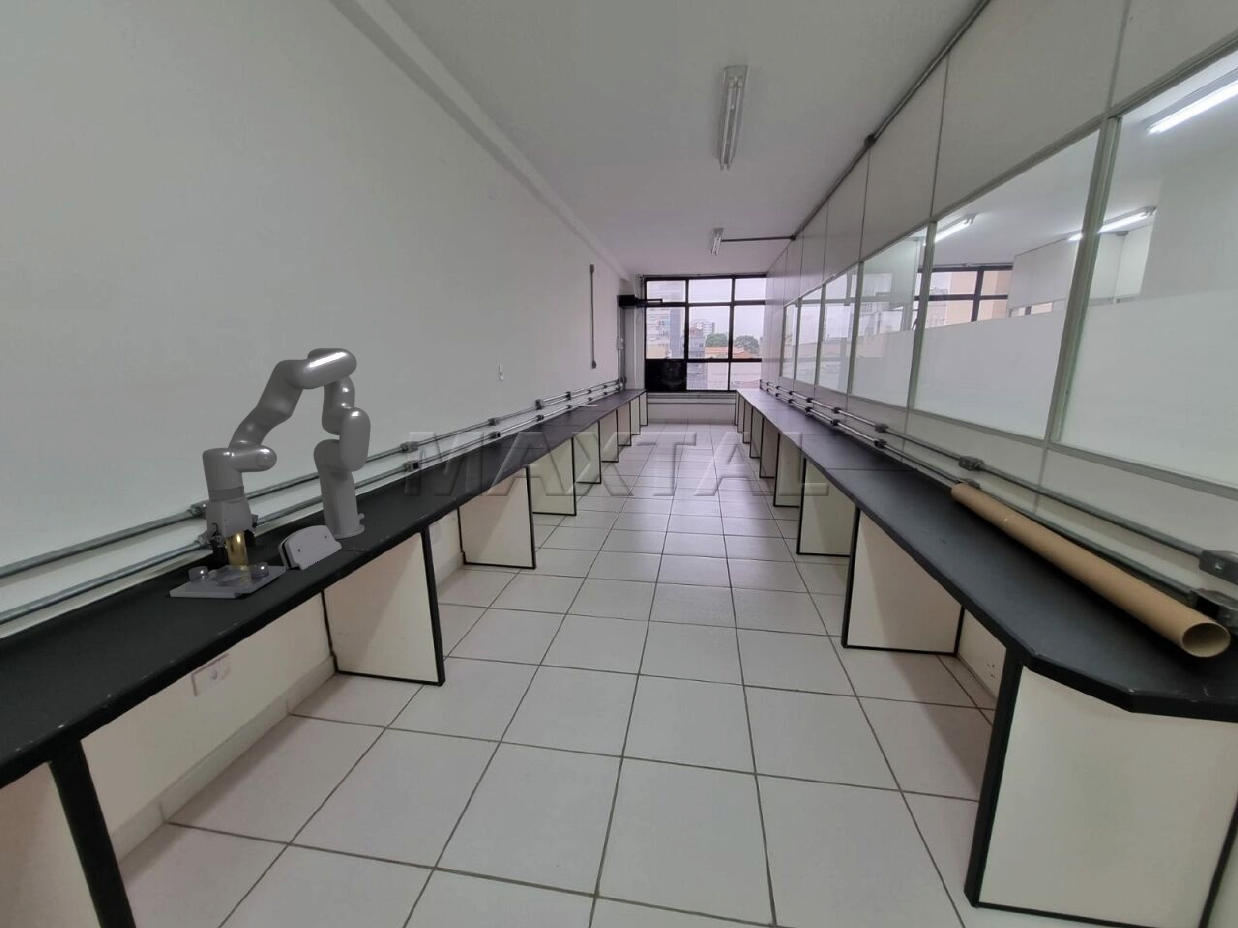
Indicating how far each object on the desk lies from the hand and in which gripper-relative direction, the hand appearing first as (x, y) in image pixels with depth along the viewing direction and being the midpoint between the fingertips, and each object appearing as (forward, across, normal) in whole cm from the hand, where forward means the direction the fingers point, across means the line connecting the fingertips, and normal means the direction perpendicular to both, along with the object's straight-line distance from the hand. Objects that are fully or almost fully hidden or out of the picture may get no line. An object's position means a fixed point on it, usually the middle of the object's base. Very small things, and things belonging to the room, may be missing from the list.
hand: (235, 553), depth 132 cm
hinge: (+4, -7, +16) cm, 18 cm away
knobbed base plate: (+4, +12, +8) cm, 15 cm away
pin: (+4, 0, 0) cm, 4 cm away
